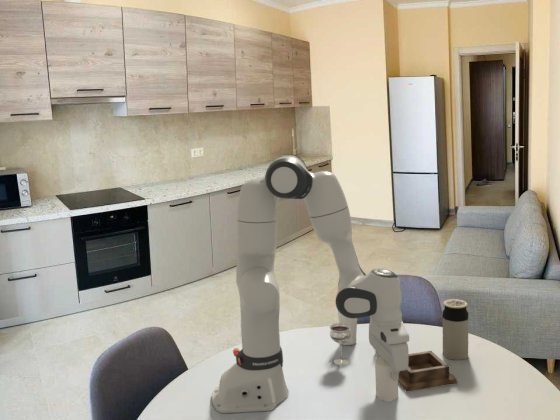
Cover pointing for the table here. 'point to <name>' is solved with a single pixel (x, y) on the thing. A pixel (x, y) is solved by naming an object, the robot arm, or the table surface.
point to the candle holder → (425, 372)
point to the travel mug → (455, 329)
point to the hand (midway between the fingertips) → (387, 371)
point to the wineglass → (340, 339)
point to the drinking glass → (353, 328)
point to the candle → (385, 381)
